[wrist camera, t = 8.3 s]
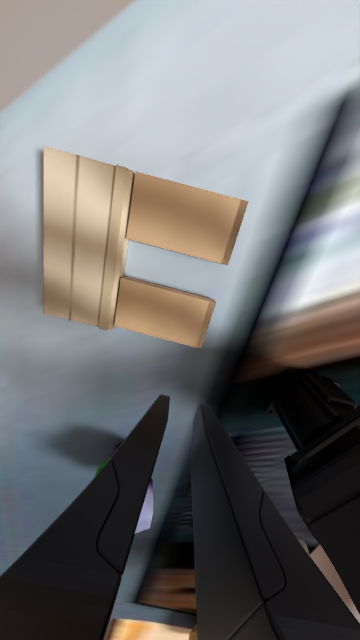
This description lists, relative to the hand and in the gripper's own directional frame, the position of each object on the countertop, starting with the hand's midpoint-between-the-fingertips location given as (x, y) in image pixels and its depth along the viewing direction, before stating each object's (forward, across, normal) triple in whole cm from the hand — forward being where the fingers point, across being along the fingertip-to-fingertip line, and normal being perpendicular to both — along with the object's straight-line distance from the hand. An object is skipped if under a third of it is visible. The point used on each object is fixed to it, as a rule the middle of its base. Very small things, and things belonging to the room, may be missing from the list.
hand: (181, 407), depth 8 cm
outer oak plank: (+13, +2, -8) cm, 15 cm away
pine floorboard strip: (+13, +11, -4) cm, 17 cm away
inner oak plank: (+13, +2, 0) cm, 13 cm away
